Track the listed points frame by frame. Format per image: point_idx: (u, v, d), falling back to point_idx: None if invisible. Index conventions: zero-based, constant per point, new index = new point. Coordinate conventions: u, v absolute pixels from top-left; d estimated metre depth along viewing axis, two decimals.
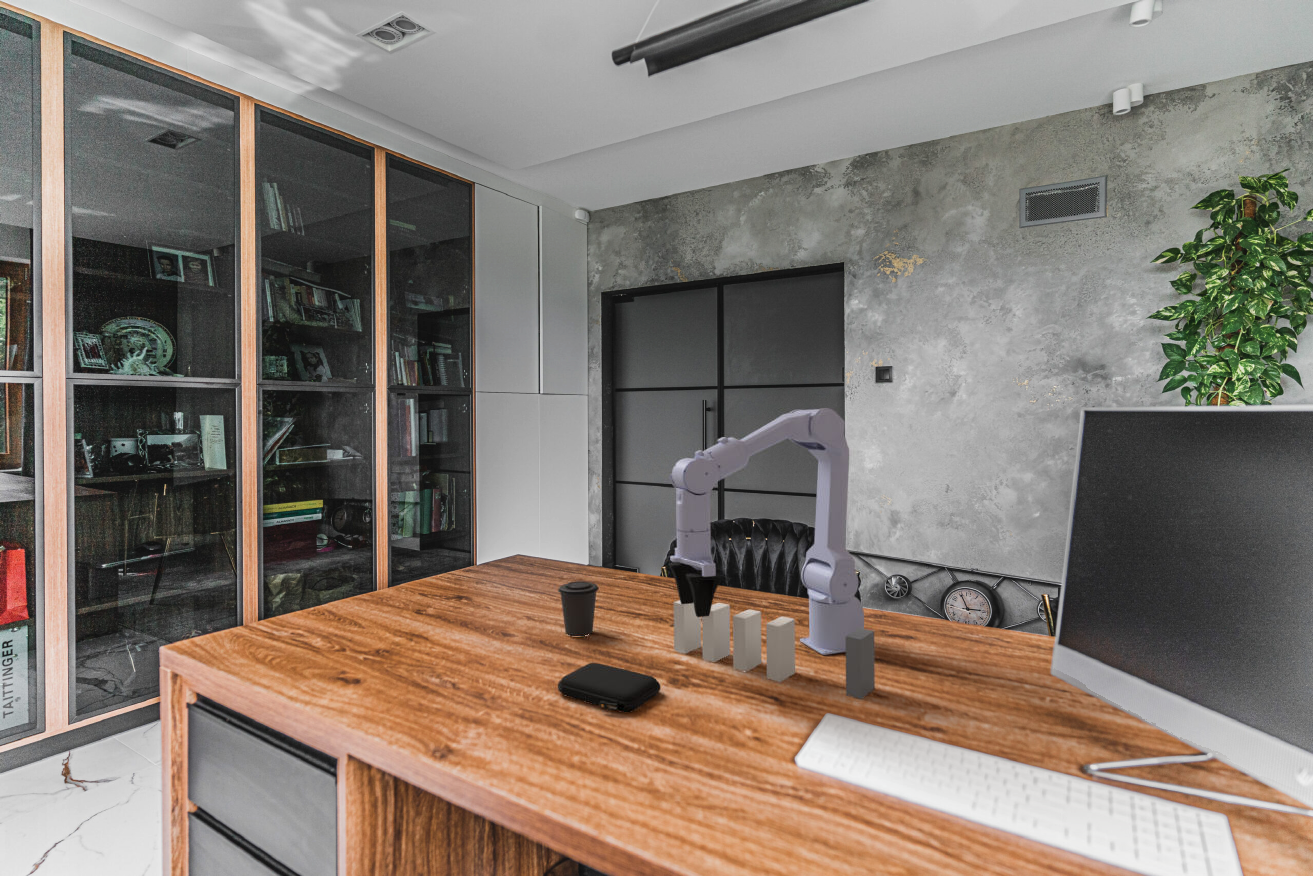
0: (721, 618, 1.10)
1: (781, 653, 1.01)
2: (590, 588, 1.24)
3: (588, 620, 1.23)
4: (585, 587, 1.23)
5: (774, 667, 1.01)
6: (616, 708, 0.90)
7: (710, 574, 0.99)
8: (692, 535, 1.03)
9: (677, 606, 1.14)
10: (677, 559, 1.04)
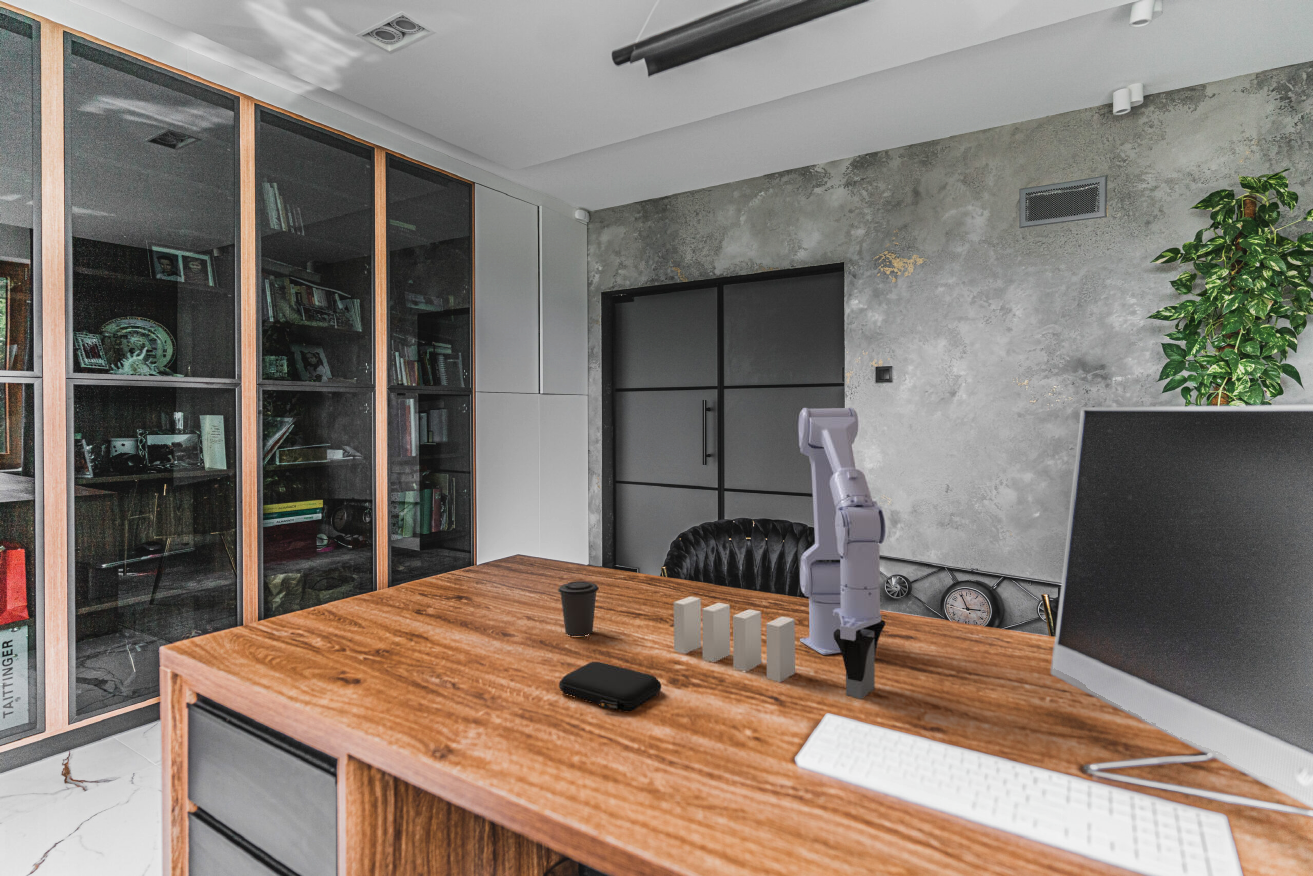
0: (721, 618, 1.10)
1: (781, 653, 1.01)
2: (590, 588, 1.24)
3: (588, 620, 1.23)
4: (585, 587, 1.23)
5: (774, 667, 1.01)
6: (616, 707, 0.90)
7: (848, 637, 0.90)
8: (847, 591, 0.94)
9: (677, 606, 1.14)
10: (836, 613, 0.97)
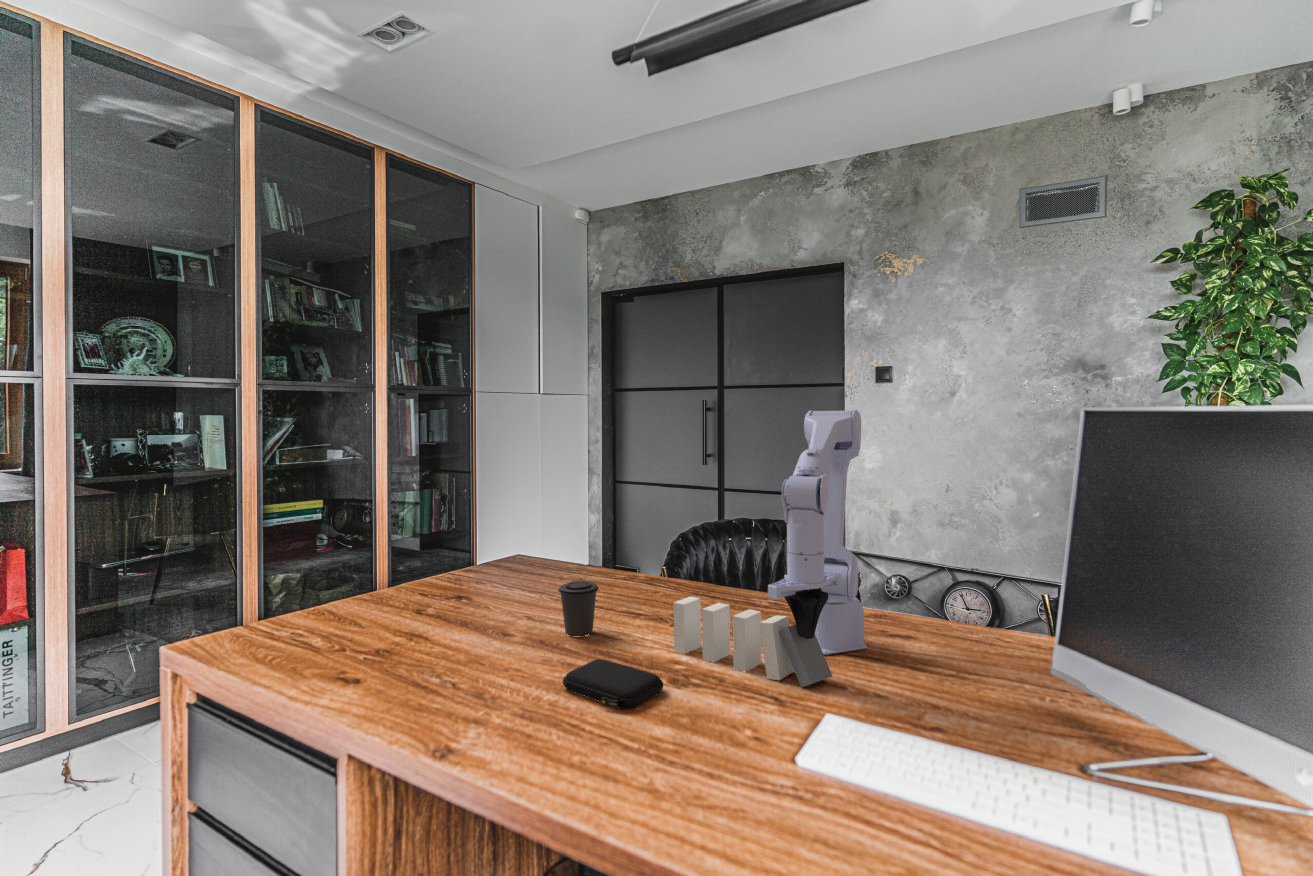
0: (721, 618, 1.10)
1: (778, 650, 1.01)
2: (590, 588, 1.24)
3: (588, 620, 1.23)
4: (585, 587, 1.23)
5: (772, 665, 1.01)
6: (617, 705, 0.91)
7: (773, 596, 0.95)
8: (788, 555, 0.99)
9: (677, 606, 1.14)
10: (786, 577, 1.02)
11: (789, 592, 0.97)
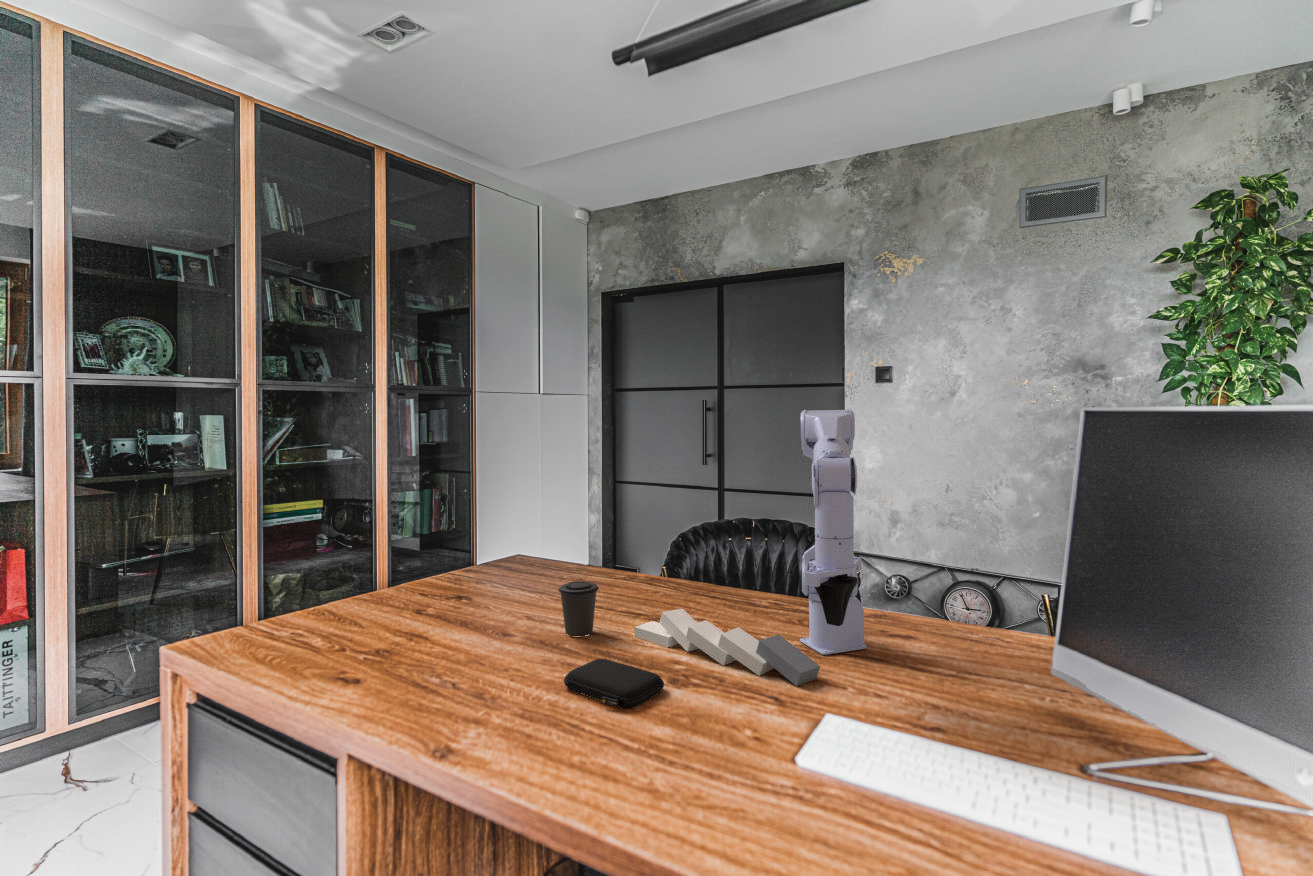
0: (677, 615, 1.20)
1: (743, 647, 1.06)
2: (590, 588, 1.24)
3: (588, 620, 1.23)
4: (585, 587, 1.23)
5: (751, 661, 1.04)
6: (617, 704, 0.91)
7: (811, 584, 0.91)
8: (818, 540, 0.95)
9: (636, 635, 1.22)
10: (811, 564, 0.98)
11: (823, 578, 0.93)
